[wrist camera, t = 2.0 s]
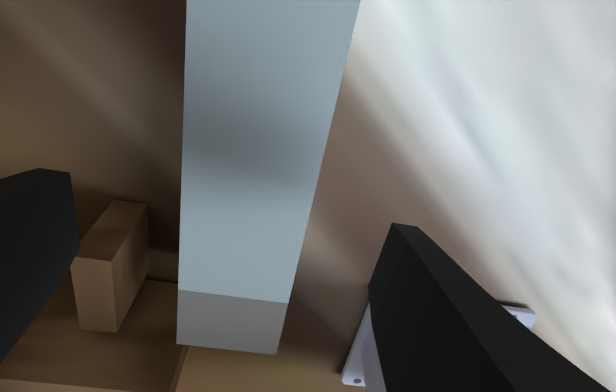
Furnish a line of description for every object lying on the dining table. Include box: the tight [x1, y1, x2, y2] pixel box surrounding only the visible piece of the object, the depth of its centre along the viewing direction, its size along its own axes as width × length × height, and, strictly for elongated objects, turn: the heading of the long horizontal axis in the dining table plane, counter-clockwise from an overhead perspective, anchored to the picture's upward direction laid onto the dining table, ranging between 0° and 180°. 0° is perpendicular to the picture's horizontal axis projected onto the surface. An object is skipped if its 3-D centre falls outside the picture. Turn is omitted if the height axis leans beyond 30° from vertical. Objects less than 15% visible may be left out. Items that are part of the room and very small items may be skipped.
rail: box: [176, 0, 360, 355], centre depth 13 cm, size 16×4×5 cm, turn 169°
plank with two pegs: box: [0, 199, 189, 392], centre depth 16 cm, size 14×6×6 cm, turn 79°
